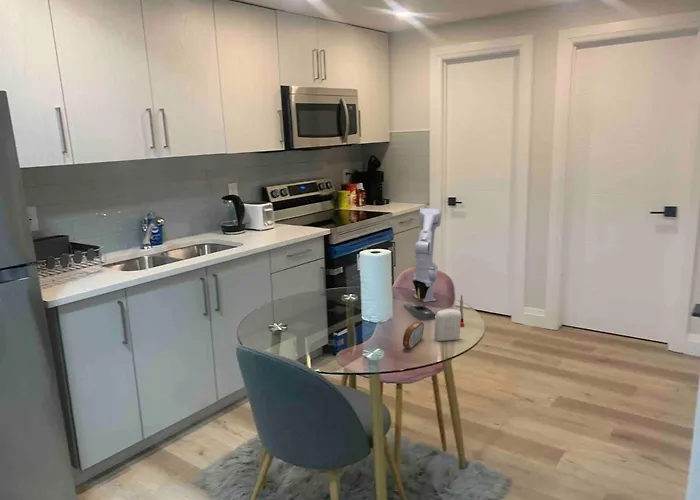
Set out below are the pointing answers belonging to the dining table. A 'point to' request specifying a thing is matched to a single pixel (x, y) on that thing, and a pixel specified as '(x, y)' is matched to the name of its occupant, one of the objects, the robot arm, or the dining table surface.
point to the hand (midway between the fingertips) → (420, 297)
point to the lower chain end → (411, 306)
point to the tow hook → (461, 311)
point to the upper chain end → (423, 312)
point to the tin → (413, 334)
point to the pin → (419, 297)
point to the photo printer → (447, 325)
